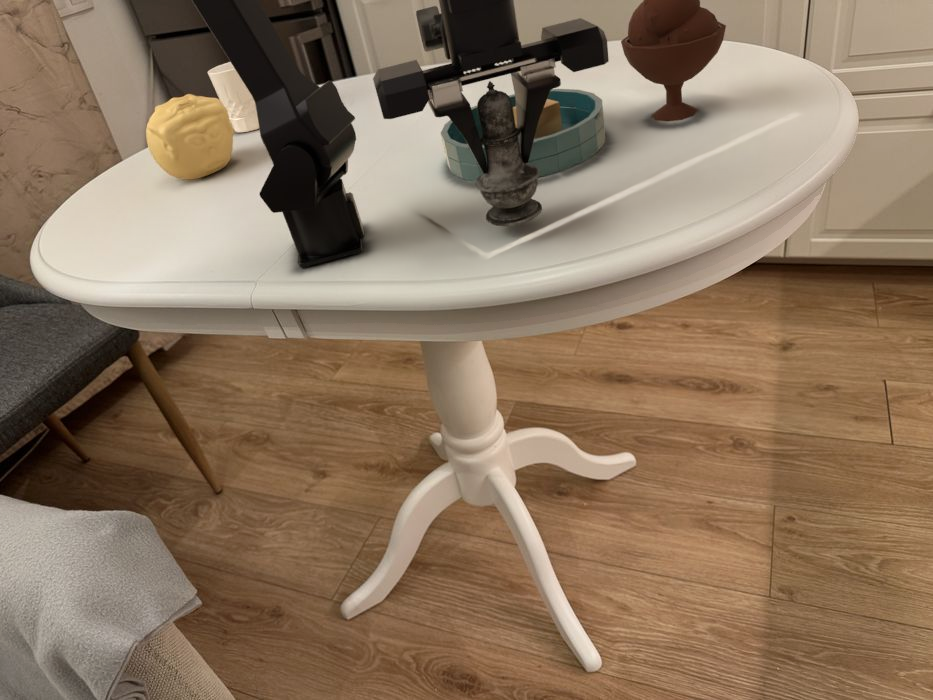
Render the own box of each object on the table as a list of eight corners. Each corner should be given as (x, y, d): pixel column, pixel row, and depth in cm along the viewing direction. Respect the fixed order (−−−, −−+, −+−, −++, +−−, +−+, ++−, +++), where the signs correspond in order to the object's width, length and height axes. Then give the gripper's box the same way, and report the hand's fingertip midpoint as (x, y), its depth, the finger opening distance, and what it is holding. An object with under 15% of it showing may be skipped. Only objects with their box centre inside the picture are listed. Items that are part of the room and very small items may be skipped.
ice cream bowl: (744, 113, 79) (749, -34, 70) (660, 143, 76) (654, -5, 68) (687, 96, 87) (684, -38, 78) (609, 122, 85) (599, -12, 76)
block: (536, 146, 82) (531, 112, 79) (517, 140, 85) (512, 107, 82) (563, 135, 83) (559, 101, 81) (544, 129, 86) (539, 96, 84)
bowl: (463, 202, 74) (455, 162, 71) (439, 149, 89) (431, 115, 87) (629, 158, 75) (627, 117, 72) (577, 113, 90) (573, 78, 87)
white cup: (223, 136, 117) (198, 76, 111) (245, 120, 123) (222, 62, 117) (263, 131, 114) (239, 69, 109) (283, 115, 120) (262, 55, 115)
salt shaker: (473, 212, 66) (445, 85, 59) (529, 192, 67) (507, 65, 60) (497, 234, 61) (469, 98, 54) (556, 212, 62) (536, 76, 55)
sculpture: (188, 192, 96) (152, 115, 90) (152, 181, 104) (118, 109, 98) (256, 160, 102) (228, 85, 96) (218, 151, 110) (189, 82, 104)
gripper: (559, -63, 60) (578, 117, 68) (349, -10, 59) (395, 164, 68) (602, -55, 50) (617, 151, 59) (354, 7, 50) (407, 206, 59)
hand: (505, 167), depth 61 cm, fingers closed on salt shaker, 3 cm apart
